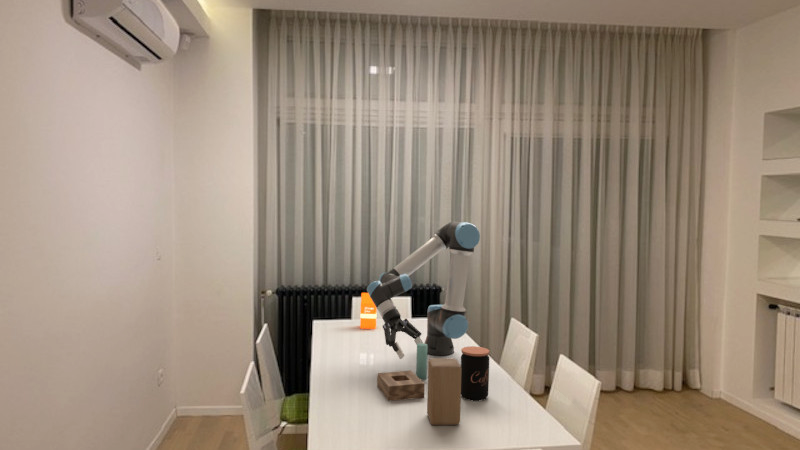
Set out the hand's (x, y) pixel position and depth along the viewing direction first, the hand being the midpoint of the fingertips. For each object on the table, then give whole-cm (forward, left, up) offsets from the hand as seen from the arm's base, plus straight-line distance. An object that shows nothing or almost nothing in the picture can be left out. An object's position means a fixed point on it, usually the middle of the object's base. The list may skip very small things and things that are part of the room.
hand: (413, 354), depth 235 cm
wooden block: (+5, +46, -10) cm, 47 cm away
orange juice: (-4, -91, -10) cm, 91 cm away
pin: (-3, +2, -9) cm, 10 cm away
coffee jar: (-15, +28, -10) cm, 33 cm away
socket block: (+11, +17, -9) cm, 22 cm away
